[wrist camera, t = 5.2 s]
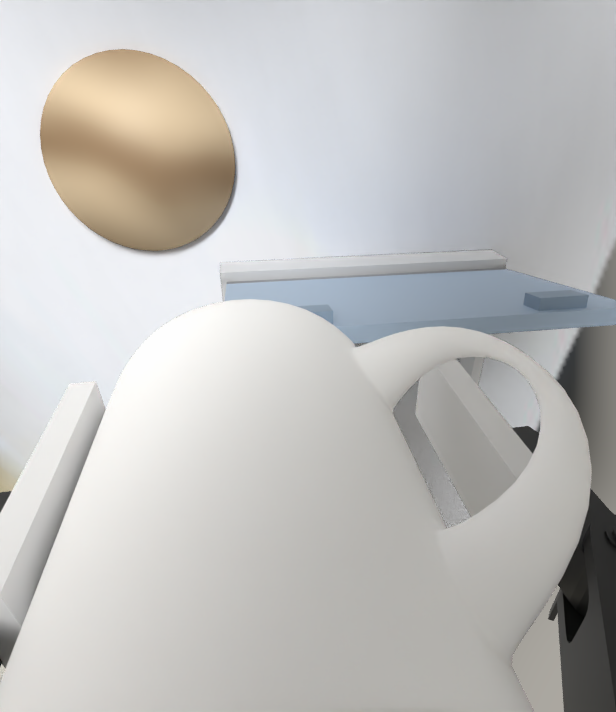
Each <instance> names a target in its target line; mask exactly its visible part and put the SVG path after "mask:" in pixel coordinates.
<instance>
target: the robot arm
mask: <svg viewBox="0 0 616 712" xmlns="http://www.w3.org/2000/svg"><path fill="white" fill-rule="evenodd" d="M105 410H106V409H105V406H104V403H103V400H102V397H101V394H100V391H99V388H98V386H97V383H96V381H93V382H83V383H73V384H69V385H68V387H67V389H66V391H65V393H64V395H63V397H62V399H61V400H60V402H59V404H58V406H57V408H56V410H55V412H54V414H53V415H52V417H51V419H50V421H49V423H48V425H47V427H46V428H45V430H44V432H43V434H42V436H41V438H40V440H39V442H38V443H37V445H36V447H35V449H34V451H33V453H32V455H31V456H30V458H29V460H28V462H27V464H26V466H25V468H24V470H23V471H22V473H21V475H20V477H19V479H18V481H17V483H16V485H15V486H14V488H13V490H12V491H9V492H1V493H0V666H1V664H2V665H3V666H4V667H5V668H6V666H7V664H8V661H9V658H10V656H11V653H12V651H13V648H14V645H15V643H16V640H17V638H18V635H19V633H20V630H21V627H22V625H23V622H24V620H25V617H26V614H27V612H28V609H29V607H30V604H31V602H32V599H33V596H34V594H35V591H36V589H37V586H38V583H39V581H40V578H41V576H42V573H43V571H44V568H45V565H46V563H47V560H48V558H49V555H50V552H51V550H52V547H53V545H54V542H55V540H56V537H57V534H58V532H59V529H60V527H61V524H62V521H63V519H64V516H65V514H66V511H67V508H68V506H69V503H70V501H71V498H72V496H73V493H74V490H75V488H76V485H77V483H78V480H79V477H80V475H81V472H82V470H83V467H84V465H85V462H86V459H87V457H88V454H89V452H90V449H91V446H92V444H93V441H94V439H95V436H96V434H97V431H98V428H99V426H100V423H101V421H102V418H103V415H104V413H105ZM415 416H416V417H417V419H418V421H419V423H420V425H421V427H422V428H423V430H424V432H425V434H426V436H427V438H428V439H429V441H430V443H431V445H432V447H433V448H434V450H435V452H436V454H437V456H438V458H439V459H440V461H441V463H442V465H443V467H444V469H445V470H446V472H447V474H448V476H449V478H450V480H451V481H452V483H453V485H454V487H455V489H456V491H457V492H458V494H459V496H460V498H461V500H462V501H463V503H464V505H465V507H466V509H467V511H468V512H469V514H470V516H471V517H472V516H474V515H476V514H478V513H479V512H480V511H482V510H483V509H485V508H486V507H487V506H489V505H490V504H491V503H493V502H494V501H496V500H497V499H498V498H499V497H500V496H501V495H502V494H503V493H504V492H505V491H506V490H507V489H509V488H510V487H511V486H512V485H513V484H514V483H515V481H516V480H517V479H518V477H519V476H520V475H521V473H522V472H523V471H524V469H525V468H526V466H527V465H528V463H529V461H530V459H531V457H532V455H533V453H534V450H535V448H536V446H537V443H538V438H539V433H538V432H536V431H535V430H533V429H532V428H530V427H529V426H525V427H516V428H511V426H510V425H509V424H508V423H507V421H506V420H505V419H504V418H503V416H502V415H501V414H500V413H499V411H498V410H497V409H496V408H495V406H494V405H493V404H492V403H491V401H490V400H489V399H488V398H487V396H486V395H485V394H484V393H483V392H482V390H481V389H480V388H479V387H478V385H477V384H476V383H475V382H474V380H473V379H472V378H471V377H470V375H469V374H468V373H467V372H466V370H465V369H464V368H463V367H462V365H461V364H460V363H459V362H458V360H457V359H455V360H451V361H447V362H445V363H443V364H441V365H439V366H436V367H435V368H433V369H432V370H430V371H429V372H427V373H426V374H425V375H423V376H422V377H421V378H420V379H419V386H418V394H417V402H416V410H415ZM558 586H559V587H560V590H559V592H558V594H557V596H556V599H555V601H554V603H553V605H552V607H551V609H550V614H549V618H548V619H549V620H554V619H555V617H556V615H557V613H558V624H559V641H560V655H561V671H562V687H563V702H564V712H616V515H614V514H613V513H612V512H611V511H610V510H609V509H608V508H607V507H606V506H605V504H604V503H603V502H602V501H601V500H600V499H599V498H598V496H597V495H596V494H595V493H594V492H593V491H592V490H591V488H590V498H589V507H588V511H587V514H586V518H585V522H584V525H583V529H582V532H581V536H580V539H579V543H578V545H577V547H576V549H575V551H574V553H573V556H572V558H571V560H570V562H569V564H568V566H567V568H566V570H565V573H564V575H563V577H562V578H561V580H560V582H559V583H558Z"/></svg>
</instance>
